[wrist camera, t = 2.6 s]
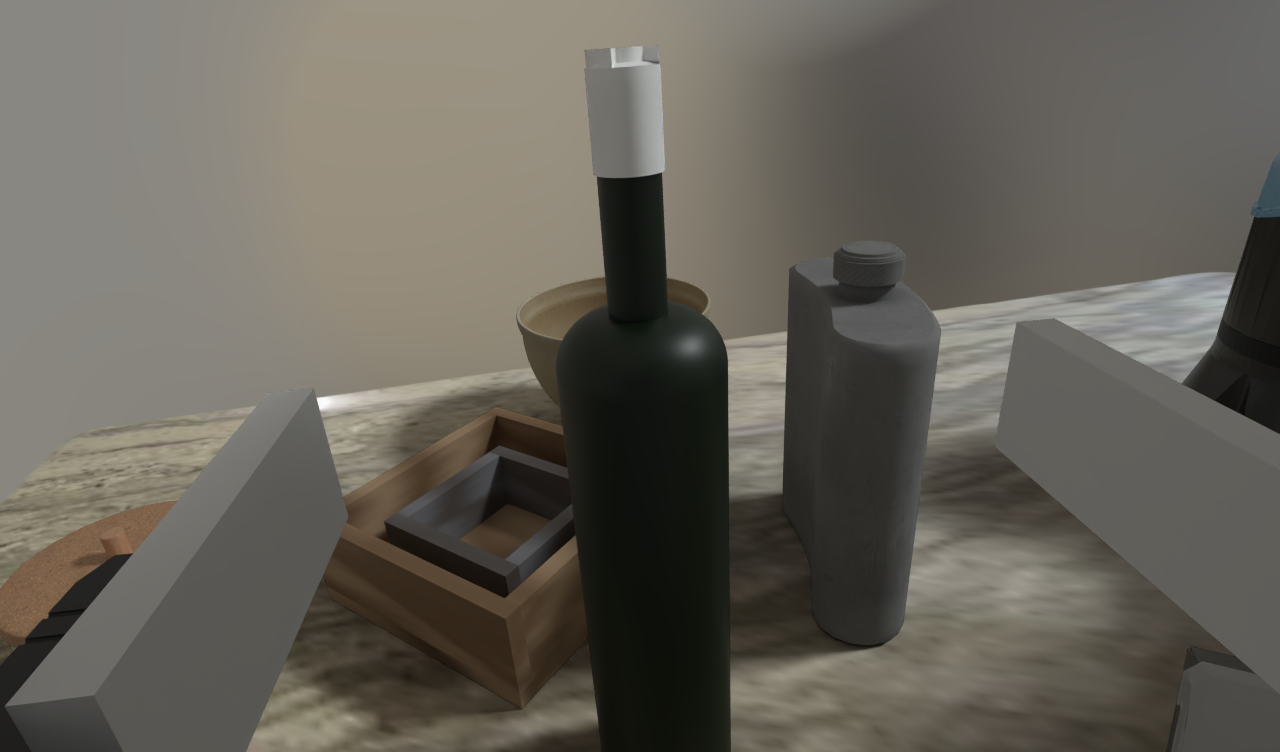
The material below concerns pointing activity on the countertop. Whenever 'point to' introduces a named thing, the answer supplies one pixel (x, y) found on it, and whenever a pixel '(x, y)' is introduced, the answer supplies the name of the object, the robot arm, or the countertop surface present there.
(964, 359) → the countertop surface
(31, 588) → the lidded jar
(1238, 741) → the electrical switch
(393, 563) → the crate
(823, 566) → the flask
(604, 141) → the wine bottle
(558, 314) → the planter bowl
